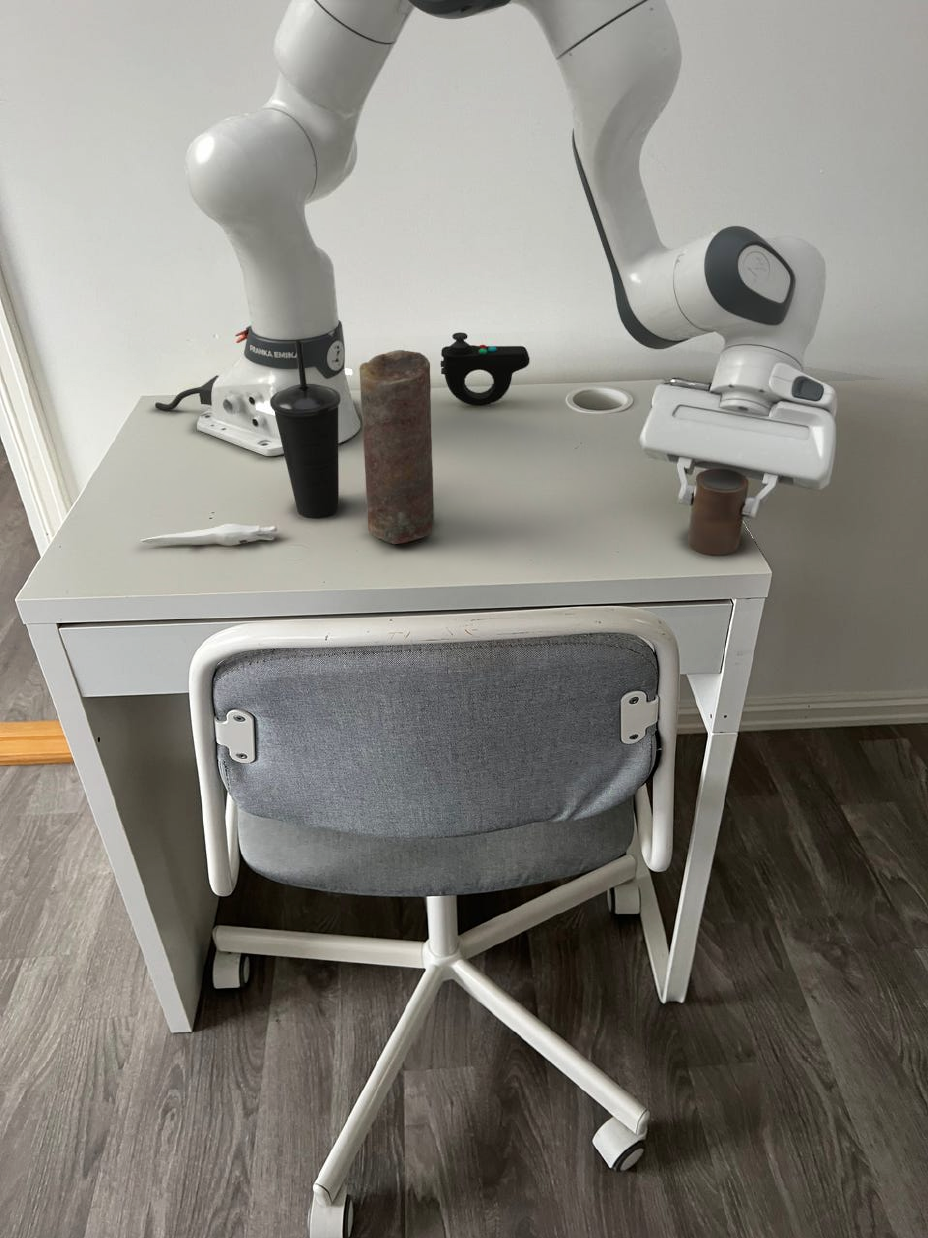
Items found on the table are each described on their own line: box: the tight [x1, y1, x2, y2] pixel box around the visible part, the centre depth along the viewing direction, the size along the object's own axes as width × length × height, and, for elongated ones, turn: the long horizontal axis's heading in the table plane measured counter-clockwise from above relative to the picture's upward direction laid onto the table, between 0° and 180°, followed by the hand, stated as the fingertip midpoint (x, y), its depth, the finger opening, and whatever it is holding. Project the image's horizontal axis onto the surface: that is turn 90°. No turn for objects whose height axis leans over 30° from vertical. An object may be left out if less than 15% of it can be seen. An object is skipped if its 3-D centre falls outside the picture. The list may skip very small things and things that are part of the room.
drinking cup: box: [270, 340, 341, 519], centre depth 109 cm, size 8×8×20 cm
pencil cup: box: [687, 469, 750, 557], centre depth 104 cm, size 5×5×8 cm
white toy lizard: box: [139, 523, 278, 547], centre depth 108 cm, size 15×3×2 cm, turn 96°
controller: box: [439, 332, 531, 407], centre depth 136 cm, size 4×12×10 cm, turn 90°
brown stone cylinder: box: [358, 349, 435, 545], centre depth 103 cm, size 8×7×20 cm
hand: (716, 510), depth 103 cm, fingers closed on pencil cup, 5 cm apart
